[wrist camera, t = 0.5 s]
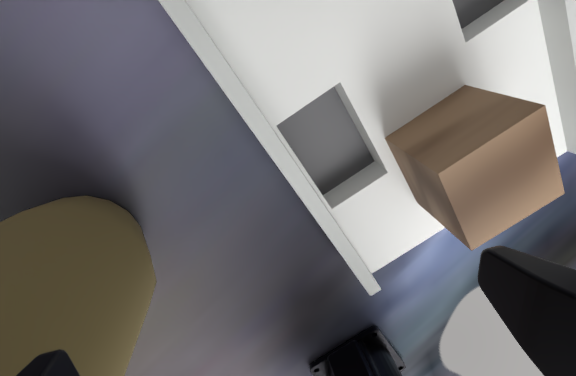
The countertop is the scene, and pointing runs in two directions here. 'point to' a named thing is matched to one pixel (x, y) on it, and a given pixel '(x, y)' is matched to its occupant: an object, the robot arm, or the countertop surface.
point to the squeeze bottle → (73, 285)
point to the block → (479, 162)
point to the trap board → (374, 93)
